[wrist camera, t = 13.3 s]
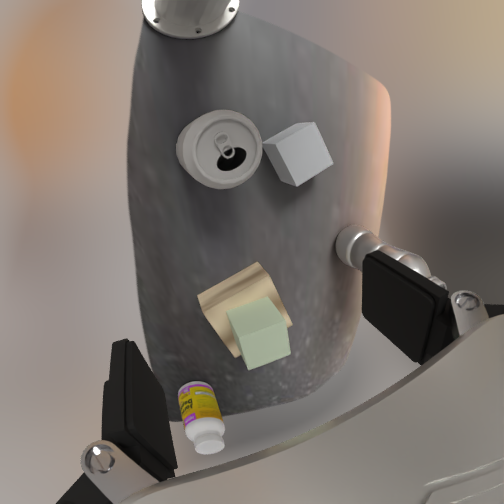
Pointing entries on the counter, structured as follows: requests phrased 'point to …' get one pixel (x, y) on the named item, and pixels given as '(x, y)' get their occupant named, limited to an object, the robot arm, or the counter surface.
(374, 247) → the plastic bottle
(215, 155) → the can
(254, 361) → the sage-green block
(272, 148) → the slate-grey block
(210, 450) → the supplement bottle
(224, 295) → the beech block
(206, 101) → the counter surface
